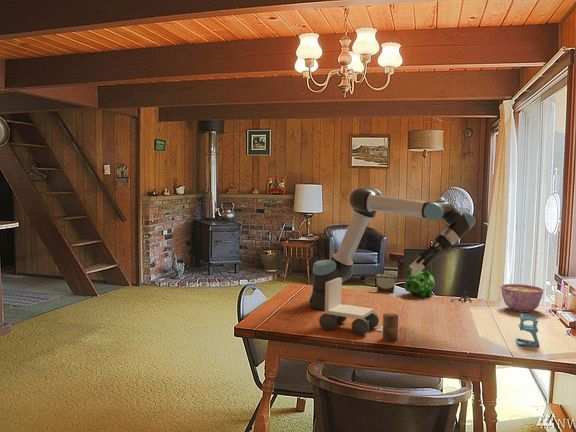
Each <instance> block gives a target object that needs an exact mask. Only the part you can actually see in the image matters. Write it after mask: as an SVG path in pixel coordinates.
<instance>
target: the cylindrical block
mask: <svg viewBox="0 0 576 432" xmlns="http://www.w3.org/2000/svg"><path fill="white" fill-rule="evenodd" d="M382 325H383V332H382V340H383V341H385V342H389V343H390V342H391V343H395V342H397V341H398V338H399V337H398V336H399V330H398V327H399V314H396V313H393V312H392V313H390V312H389V313H383V315H382Z"/></svg>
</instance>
